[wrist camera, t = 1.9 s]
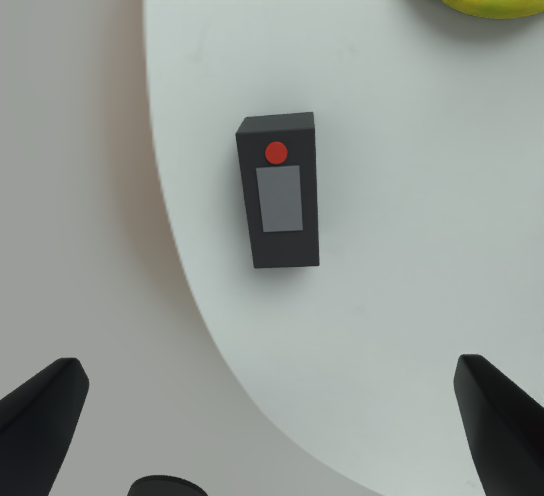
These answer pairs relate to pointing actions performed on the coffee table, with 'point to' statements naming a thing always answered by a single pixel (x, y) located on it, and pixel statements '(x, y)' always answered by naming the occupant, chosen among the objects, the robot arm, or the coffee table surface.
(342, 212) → the coffee table surface
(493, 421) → the robot arm
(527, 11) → the fruit
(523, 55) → the coffee table surface
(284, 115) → the remote
